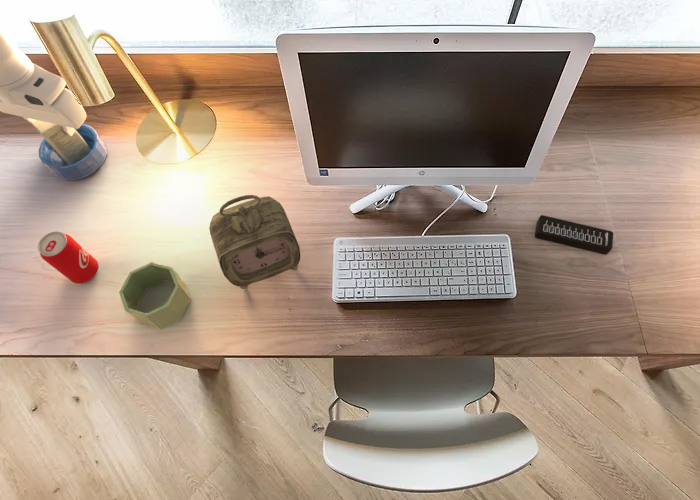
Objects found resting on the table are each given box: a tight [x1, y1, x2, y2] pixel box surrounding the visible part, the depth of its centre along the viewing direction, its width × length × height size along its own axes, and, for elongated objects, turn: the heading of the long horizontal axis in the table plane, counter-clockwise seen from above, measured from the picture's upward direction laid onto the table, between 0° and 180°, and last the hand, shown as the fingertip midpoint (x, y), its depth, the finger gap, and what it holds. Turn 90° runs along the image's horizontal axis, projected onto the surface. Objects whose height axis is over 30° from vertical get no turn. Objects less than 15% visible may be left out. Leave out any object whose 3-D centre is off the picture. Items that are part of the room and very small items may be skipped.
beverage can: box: [37, 231, 100, 285], centre depth 97 cm, size 6×6×12 cm
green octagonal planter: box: [118, 261, 192, 330], centre depth 95 cm, size 10×10×7 cm
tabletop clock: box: [208, 194, 301, 290], centre depth 90 cm, size 14×9×25 cm, turn 112°
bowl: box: [38, 123, 108, 181], centre depth 114 cm, size 13×13×5 cm
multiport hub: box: [534, 214, 614, 256], centre depth 100 cm, size 4×14×2 cm, turn 72°
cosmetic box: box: [31, 120, 91, 165], centre depth 111 cm, size 6×4×12 cm
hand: (56, 130), depth 108 cm, fingers closed on cosmetic box, 6 cm apart
